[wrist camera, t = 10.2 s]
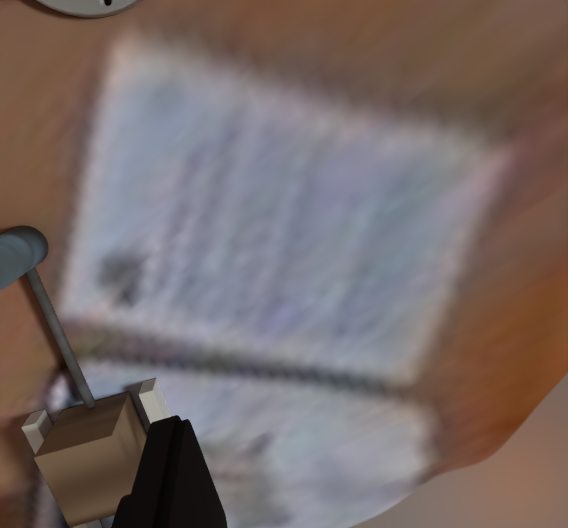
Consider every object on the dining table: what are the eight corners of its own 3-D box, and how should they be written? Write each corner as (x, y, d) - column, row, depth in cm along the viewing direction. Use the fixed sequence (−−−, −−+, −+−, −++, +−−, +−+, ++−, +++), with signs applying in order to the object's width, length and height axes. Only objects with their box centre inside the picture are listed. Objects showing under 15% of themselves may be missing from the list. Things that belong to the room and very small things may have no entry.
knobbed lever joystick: (-21, 236, 35) (-70, 258, 30) (56, 216, 36) (21, 233, 30) (92, 473, 42) (69, 527, 37) (155, 455, 43) (143, 506, 37)
